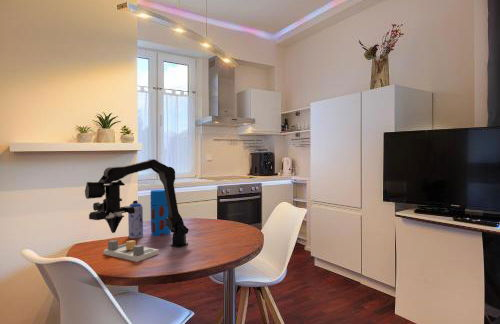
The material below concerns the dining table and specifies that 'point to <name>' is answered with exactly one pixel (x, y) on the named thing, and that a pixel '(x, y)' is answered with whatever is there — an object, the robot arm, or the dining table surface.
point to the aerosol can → (136, 221)
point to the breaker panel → (129, 251)
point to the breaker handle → (130, 244)
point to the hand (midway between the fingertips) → (113, 232)
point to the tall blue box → (159, 213)
